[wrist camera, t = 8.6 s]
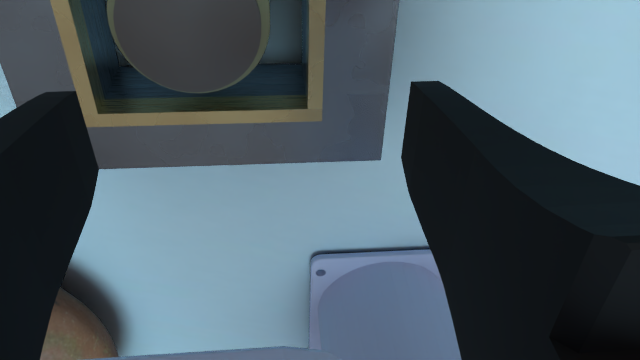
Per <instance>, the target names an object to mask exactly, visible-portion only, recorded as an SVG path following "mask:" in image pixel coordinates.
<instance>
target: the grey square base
mask: <svg viewBox="0 0 640 360" xmlns="http://www.w3.org/2000/svg"><path fill="white" fill-rule="evenodd" d="M398 7H399V0H302V64H257V65H256V67H255V68H254V69H253V70H252V71H251V72H250V73H249V74H248V75H247V76H246V77H245V78H243V79H242V80H240V81H239V82H237V83H236V84H234V85H232V86H230V87H227V88H225V89H222V90H218V91H214V92H209V93H187V92H180V91H176V90H172V89H169V88H166V87H164V86H161V85H159V84H157V83H155V82H153V81H151V80H150V79H148V78H147V77H145V76H144V75H142V74H141V73H140V72H139V71H137V70H136V69H135V68H134V67H133V66H122V67H119V64H118V59H117V55H116V50H115V46H114V41H113V37H112V34H111V30H110V27H109V23H108V16H107V10H106V5H105V1H104V0H0V63H1V66H2V69H3V71H4V74H5V77H6V80H7V82H8V85H9V88H10V90H11V93H12V96H13V99H14V101H15V104H16V107H19V106H21V105H22V104H24V103H26V102H27V101H29V100H31V99H33V98H34V97H36V96H38V95H40V94H43V93H45V92H58V91H76V93H77V96H78V100H79V103H80V107H81V110H82V113H83V117H84V120H85V124H86V127H87V130H88V134H89V137H90V141H91V144H92V148H93V151H94V154H95V158H96V161H97V165H98V168H99V169H117V168H148V167H180V166H211V165H243V164H274V163H306V162H337V161H369V160H381V153H382V145H383V136H384V128H385V119H386V110H387V102H388V93H389V84H390V76H391V67H392V58H393V50H394V41H395V33H396V24H397V15H398Z"/></svg>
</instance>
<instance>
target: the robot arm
mask: <svg viewBox="0 0 640 360" xmlns="http://www.w3.org/2000/svg"><path fill="white" fill-rule="evenodd" d="M401 159H402V164H403V168H404V173H405V178H406V182H407V187H408V191H409V194H410V197H411V200H412V203H413V205H414V208H415V211H416V213H417V216H418V219H419V221H420V224H421V226H422V229H423V232H424V234H425V237H426V239H427V242H428V244H429V247H430V249H427V250H406V251H384V252H362V253H341V254H320V255H316V256H314V257H313V258H312V259H311V272H310V320H309V349H306V348H296V347H285V346H282V347H266V348H251V349H235V350H220V351H205V352H189V353H174V354H158V355H143V356H127V357H112V358H96V359H81V360H640V186H639V185H636V184H633V183H630V182H627V181H624V180H621V179H618V178H615V177H613V176H610V175H607V174H605V173H602V172H599V171H597V170H594V169H591V168H589V167H587V166H584V165H582V164H579V163H577V162H575V161H573V160H571V159H568V158H566V157H564V156H562V155H560V154H558V153H556V152H554V151H551V150H549V149H547V148H545V147H543V146H542V145H540V144H538V143H536V142H534V141H532V140H531V139H529V138H527V137H525V136H524V135H522V134H520V133H518V132H517V131H515V130H513V129H512V128H510V127H508V126H507V125H505V124H504V123H502V122H500V121H499V120H497V119H496V118H494V117H493V116H491V115H490V114H488V113H487V112H485V111H484V110H482V109H481V108H479V107H478V106H476V105H475V104H473V103H472V102H470V101H469V100H467V99H466V98H465V97H463V96H462V95H460V94H459V93H457V92H456V91H454V90H453V89H451V88H450V87H448V86H446V85H445V84H443V83H441V82H439V81H421V82H411V87H410V94H409V102H408V110H407V117H406V125H405V133H404V140H403V148H402V155H401ZM98 171H99V168H98V165H97V161H96V158H95V154H94V151H93V148H92V144H91V141H90V137H89V134H88V130H87V127H86V124H85V120H84V117H83V113H82V110H81V107H80V103H79V100H78V96H77V93H76V91H58V92H45V93H43V94H40V95H38V96H36V97H34V98H33V99H31V100H29V101H27V102H26V103H24V104H22V105H21V106H19V107H17V108H16V109H14V110H12V111H11V112H9V113H8V114H6V115H4V116H3V117H1V118H0V360H40V357H41V353H42V348H43V344H44V340H45V336H46V333H47V329H48V325H49V321H50V317H51V313H52V309H53V306H54V303H55V300H56V297H57V294H58V291H59V288H60V286H61V283H62V281H63V278H64V275H65V273H66V270H67V268H68V265H69V263H70V260H71V258H72V255H73V253H74V250H75V247H76V245H77V242H78V240H79V237H80V235H81V232H82V229H83V227H84V224H85V222H86V219H87V216H88V214H89V211H90V208H91V204H92V200H93V196H94V191H95V186H96V181H97V176H98ZM320 269H322V270H321V271H318V270H320Z"/></svg>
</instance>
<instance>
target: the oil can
mask: <svg viewBox="0 0 640 360" xmlns="http://www.w3.org/2000/svg"><path fill="white" fill-rule="evenodd" d="M107 16H108V23H109V27H110V30H111V34H112V36H113V38H114V41H115V43H116V45H117V46H118V48H119V50H120V51H121V53H122V54H123V55H124V57H125V58H126V59H127V61H128V62H129V63H130V64H131V65H132V66H133V67H134V68H135V69H136V70H137V71H139V72H140V73H141V74H142V75H144V76H145V77H147V78H148V79H150V80H151V81H153V82H155V83H157V84H159V85H161V86H164V87H166V88H169V89H172V90H176V91H180V92H187V93H209V92H214V91H218V90H222V89H225V88H227V87H230V86H232V85H234V84H236V83H237V82H239V81H240V80H242V79H243V78H245V77H246V76H247V75H248V74H249V73H250V72H251V71H252V70H253V69H254V68H255V67H256V65H257V64H258V63H259V61H260V60H261V58H262V56H263V54H264V52H265V49H266V46H267V43H268V39H269V33H270V8H269V0H107Z"/></svg>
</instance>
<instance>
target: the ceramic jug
mask: <svg viewBox="0 0 640 360" xmlns="http://www.w3.org/2000/svg"><path fill="white" fill-rule="evenodd" d="M112 357H118V353H117V350H116V347H115V345H114V342H113V340H112V338H111V336H110V334H109V332H108V331H107V329H106V328H105V326H104V325H103V323H102V322H101V321H100V320H99V318H98V317H97V316H96V315H95V314H94V313H93V312H92V311H91V310H90V309H89V308H88V307H87V306H86V305H84V304H83V303H82V302H81V301H80V300H78V299H77V298H75V297H74V296H73V295H71V294H70V293H68V292H67V291H65V290H63V289H62V288H59V291H58V294H57V297H56V300H55V303H54V306H53V309H52V313H51V317H50V321H49V325H48V329H47V333H46V336H45V340H44V344H43V348H42V353H41V357H40V360H81V359H96V358H112Z"/></svg>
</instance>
